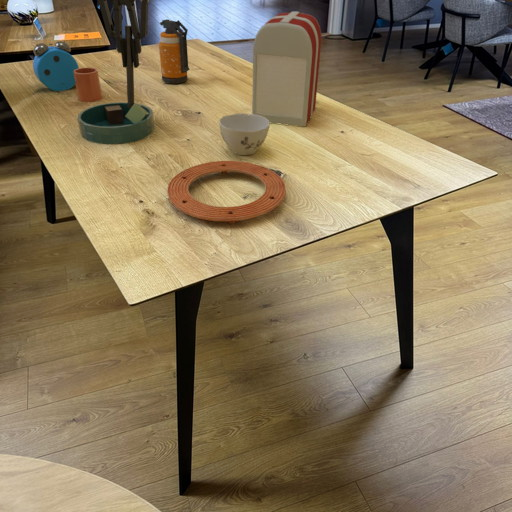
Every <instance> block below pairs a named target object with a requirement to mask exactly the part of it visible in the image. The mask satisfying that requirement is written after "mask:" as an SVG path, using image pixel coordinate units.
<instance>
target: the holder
mask: <svg viewBox="0 0 512 512" xmlns="http://www.w3.org/2000/svg"><path fill="white" fill-rule="evenodd" d="M73 73H74V78H75V83H76V84H75V87H76V93H77V98H78V101H79V102H83V103H94V102H98V101H100V100H102V99H103V92H102V87H101V81H100V75H99V69H98V68H96V67H79V69H75V70H74V71H73Z"/></svg>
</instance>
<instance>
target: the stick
mask: <svg viewBox="0 0 512 512" xmlns="http://www.w3.org/2000/svg"><path fill="white" fill-rule="evenodd" d="M124 38H125V43H126V67H125V71H126V98H127V99H126V100H127V101H126V102H127V103H128V108H131V107H132V106H133V105H134V103H135V76H134V74H135V71H134V69H135V68H134V63H133V55H132V46H131V40H133V33H132V28H131V24H130V25H129V24H126V25H124Z"/></svg>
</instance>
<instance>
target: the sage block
mask: <svg viewBox="0 0 512 512" xmlns="http://www.w3.org/2000/svg"><path fill="white" fill-rule="evenodd" d="M139 104H140V103H137V104H134V105H133V106H132V107H131V109H130V110H129V112H128V113H127V114H126V116H125V117H127V118H128V119H129V120H130V121H131V122H133V123H137V122H140V121H142V120H144V119H146V118H147V117H148V116H149V113H148V112H147V111H146V110H145V109H143V108H142V107H141V106H140V105H139Z"/></svg>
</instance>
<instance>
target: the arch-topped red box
mask: <svg viewBox="0 0 512 512" xmlns="http://www.w3.org/2000/svg"><path fill="white" fill-rule="evenodd" d="M321 50H322V31H321V27H320V24H319V22H318V20H317V19H316V17H314V16H313V15H311V14H308V13H302V12H300V11H294V10H293V11H291V12H290V11H289V12H281V13H278V14H275V16H273V17H271V18H270V19H268V20H267V21H266V22H265V23H264V24H263V25H262V26H261V27H260V28H259V29H258V31H257V33H256V35H255V37H254V41H253V46H252V95H251V97H252V98H251V99H252V100H251V114H255V115H260V116H262V117H265V118H266V119H267V120H269V122H272V123H281V124H288V125H287V126H289V125H297V126H296V127H298V126H306V125H307V126H308V124H309V122H310V120H311V119H310V117H311V116H312V117H313V114H314V112H315V110H316V105H317V95H318V82H319V81H318V80H319V72H320V71H319V70H320V61H321ZM314 109H315V110H314ZM313 111H314V112H313ZM312 113H313V114H312ZM312 117H311V118H312ZM309 119H310V120H309ZM308 121H309V122H308ZM272 123H271V124H272ZM307 123H308V124H307ZM281 124H280V125H281ZM307 126H306V127H307Z"/></svg>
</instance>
